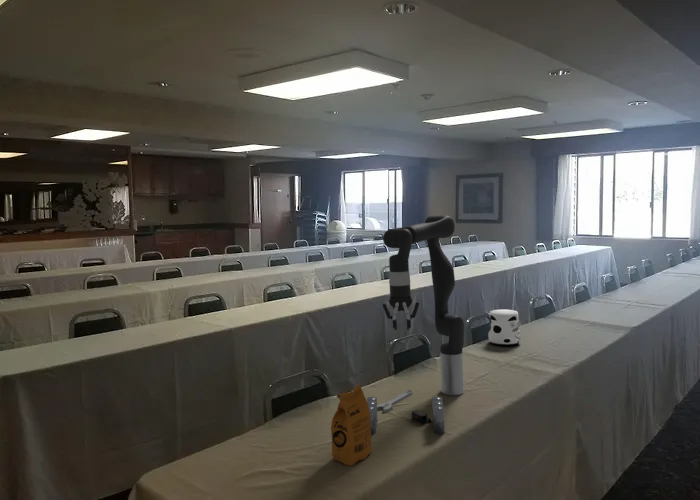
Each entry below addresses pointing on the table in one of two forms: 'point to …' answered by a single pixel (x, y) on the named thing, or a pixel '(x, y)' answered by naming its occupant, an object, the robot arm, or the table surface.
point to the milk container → (504, 327)
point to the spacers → (437, 414)
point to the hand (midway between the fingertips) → (401, 329)
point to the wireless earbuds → (420, 417)
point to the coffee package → (351, 428)
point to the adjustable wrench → (394, 401)
